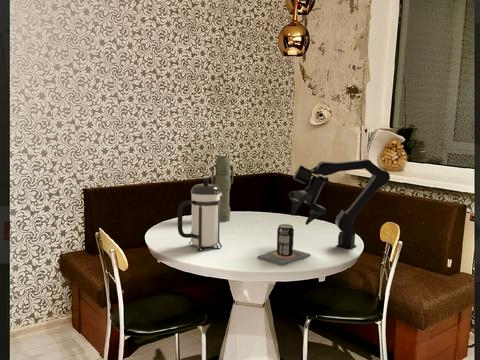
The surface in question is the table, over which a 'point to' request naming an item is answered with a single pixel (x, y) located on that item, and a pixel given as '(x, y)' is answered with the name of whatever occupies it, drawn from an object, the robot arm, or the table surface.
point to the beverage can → (285, 240)
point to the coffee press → (203, 215)
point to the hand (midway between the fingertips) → (298, 220)
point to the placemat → (283, 257)
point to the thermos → (223, 184)
